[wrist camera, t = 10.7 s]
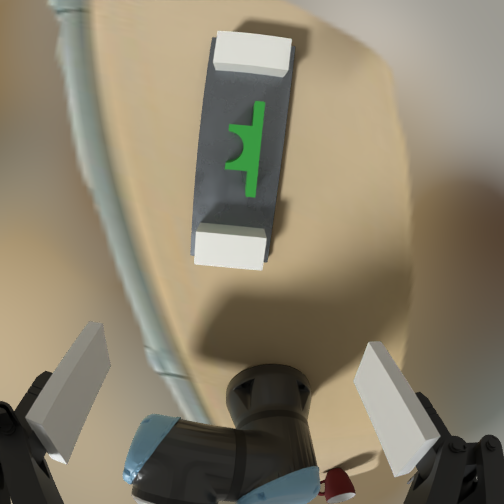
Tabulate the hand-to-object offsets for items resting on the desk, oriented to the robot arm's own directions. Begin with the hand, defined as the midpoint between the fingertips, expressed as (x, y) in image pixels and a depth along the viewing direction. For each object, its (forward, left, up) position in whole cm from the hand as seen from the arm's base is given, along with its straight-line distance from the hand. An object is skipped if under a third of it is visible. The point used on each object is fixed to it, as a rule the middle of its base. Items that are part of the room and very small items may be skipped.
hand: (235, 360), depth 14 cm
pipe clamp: (+9, 0, -25) cm, 27 cm away
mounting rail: (+9, +1, -26) cm, 28 cm away
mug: (-68, -32, -27) cm, 80 cm away
